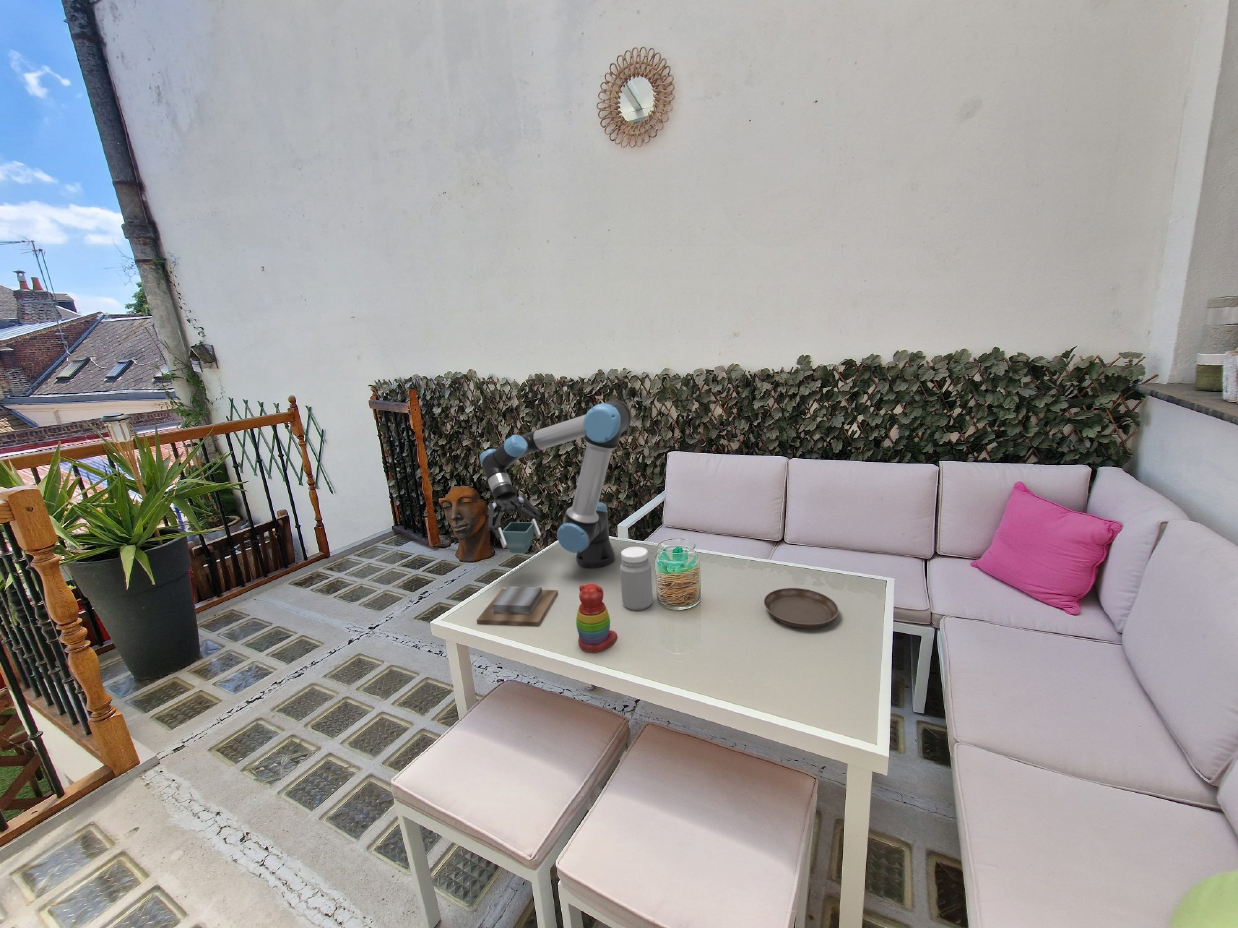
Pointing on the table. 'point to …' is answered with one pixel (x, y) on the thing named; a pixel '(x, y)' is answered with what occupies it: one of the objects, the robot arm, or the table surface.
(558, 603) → the table surface
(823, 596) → the plant saucer
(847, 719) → the table surface
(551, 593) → the build base
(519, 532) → the flower pot
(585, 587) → the stacking bear
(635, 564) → the jar
